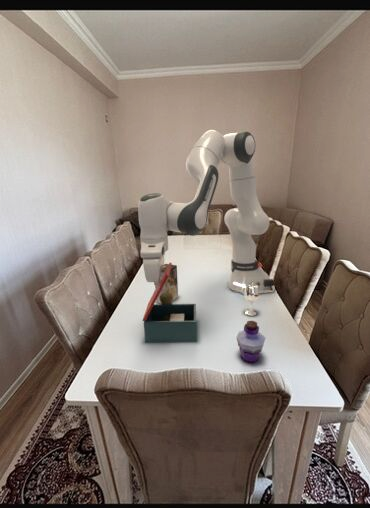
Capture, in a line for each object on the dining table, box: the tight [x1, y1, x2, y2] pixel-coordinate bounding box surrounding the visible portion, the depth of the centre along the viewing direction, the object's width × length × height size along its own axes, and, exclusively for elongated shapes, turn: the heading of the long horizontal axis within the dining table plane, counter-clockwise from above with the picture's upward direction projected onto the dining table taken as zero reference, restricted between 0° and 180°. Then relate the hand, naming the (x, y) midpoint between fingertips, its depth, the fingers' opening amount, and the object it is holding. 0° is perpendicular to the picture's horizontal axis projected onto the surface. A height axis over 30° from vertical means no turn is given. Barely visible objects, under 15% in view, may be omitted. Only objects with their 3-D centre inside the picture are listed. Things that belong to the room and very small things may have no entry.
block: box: [170, 314, 185, 321], centre depth 90 cm, size 5×5×5 cm
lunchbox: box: [143, 303, 198, 343], centre depth 90 cm, size 18×13×8 cm
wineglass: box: [243, 283, 260, 317], centre depth 100 cm, size 6×6×12 cm
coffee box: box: [154, 263, 179, 304], centre depth 113 cm, size 9×6×16 cm
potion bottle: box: [236, 320, 267, 364], centre depth 75 cm, size 9×9×12 cm
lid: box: [142, 262, 173, 323], centre depth 86 cm, size 18×13×1 cm
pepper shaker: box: [160, 292, 174, 321], centre depth 97 cm, size 6×6×11 cm
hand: (157, 283), depth 86 cm, fingers closed
